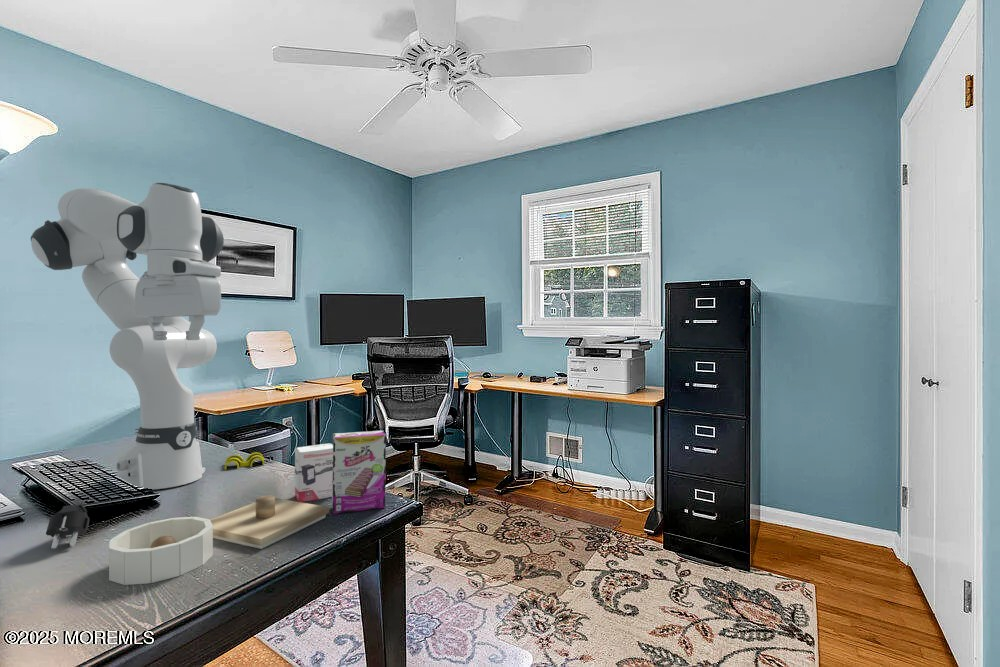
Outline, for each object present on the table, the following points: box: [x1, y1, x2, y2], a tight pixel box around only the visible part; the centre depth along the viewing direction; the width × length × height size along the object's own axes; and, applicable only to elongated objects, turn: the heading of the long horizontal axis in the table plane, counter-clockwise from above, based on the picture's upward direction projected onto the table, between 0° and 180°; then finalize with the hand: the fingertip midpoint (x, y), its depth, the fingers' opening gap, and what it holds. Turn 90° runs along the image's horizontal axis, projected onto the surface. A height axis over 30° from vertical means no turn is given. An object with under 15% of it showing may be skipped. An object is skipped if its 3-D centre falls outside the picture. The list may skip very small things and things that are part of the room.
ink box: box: [294, 443, 333, 503], centre depth 113 cm, size 8×5×12 cm, turn 123°
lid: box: [209, 494, 330, 546], centre depth 97 cm, size 17×17×5 cm
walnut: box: [150, 536, 176, 548], centre depth 81 cm, size 4×4×4 cm
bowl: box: [108, 516, 214, 586], centre depth 81 cm, size 14×14×5 cm
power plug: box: [45, 503, 90, 550], centre depth 90 cm, size 6×8×12 cm
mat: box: [213, 514, 327, 550], centre depth 97 cm, size 16×16×1 cm
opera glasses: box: [224, 451, 265, 470], centre depth 135 cm, size 10×5×5 cm, turn 117°
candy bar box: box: [331, 430, 387, 515], centre depth 106 cm, size 11×5×16 cm, turn 110°
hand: (176, 340), depth 93 cm, fingers open, 8 cm apart
